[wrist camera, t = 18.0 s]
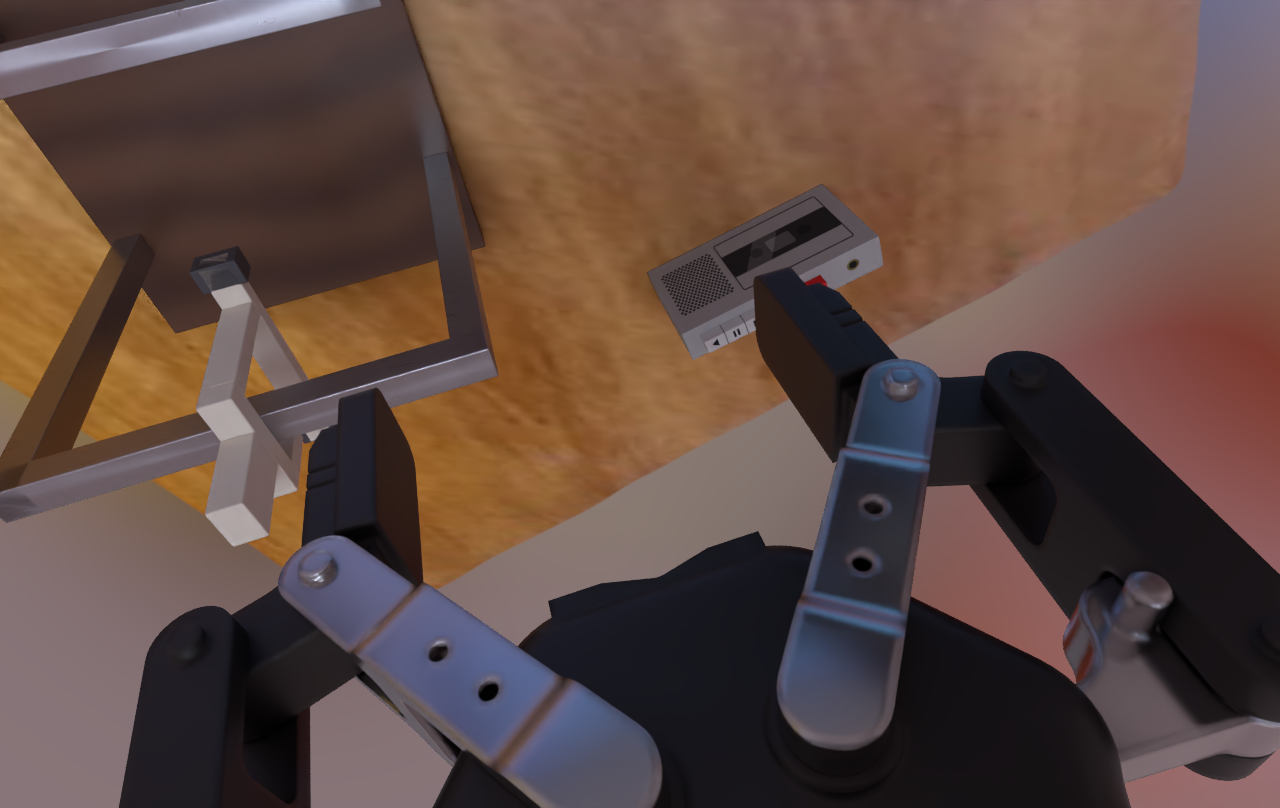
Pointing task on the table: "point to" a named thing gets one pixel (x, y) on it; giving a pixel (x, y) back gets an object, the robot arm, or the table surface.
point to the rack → (233, 201)
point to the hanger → (244, 402)
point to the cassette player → (762, 266)
